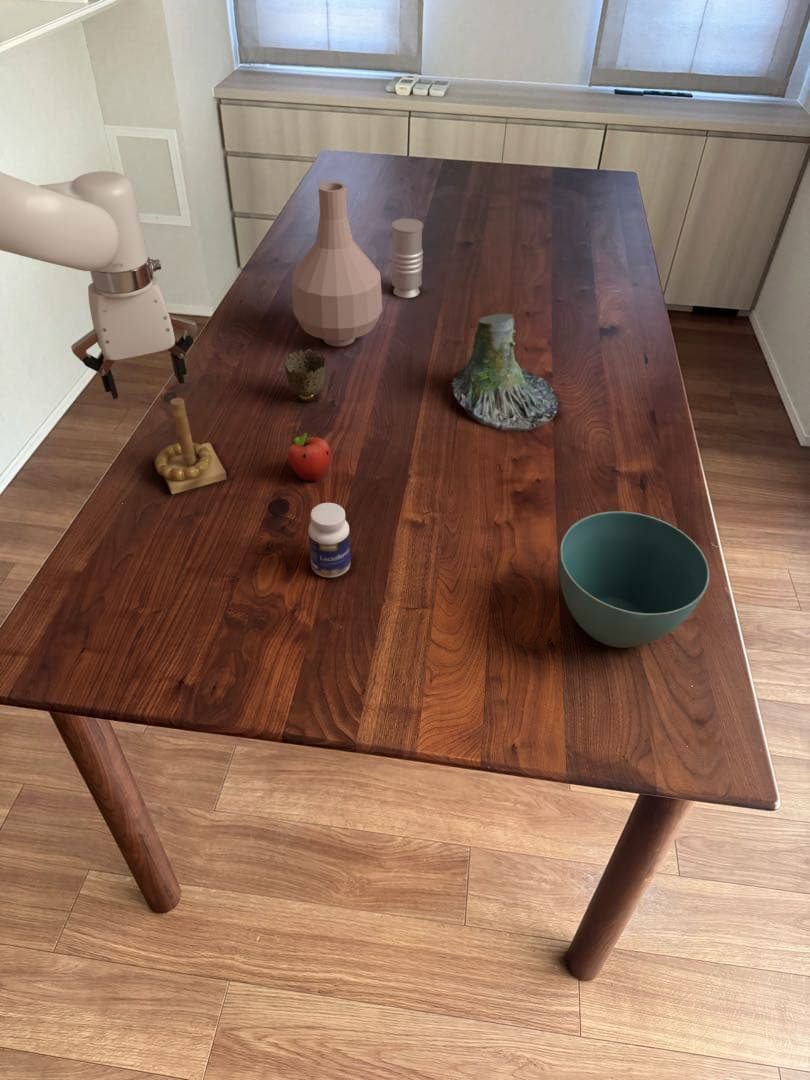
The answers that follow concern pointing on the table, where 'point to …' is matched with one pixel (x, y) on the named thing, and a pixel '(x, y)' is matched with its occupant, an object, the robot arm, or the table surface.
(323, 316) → the vase
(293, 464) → the apple
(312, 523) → the pill bottle
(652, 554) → the teal bowl
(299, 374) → the cup
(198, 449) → the ring
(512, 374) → the tree stump
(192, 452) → the post stand
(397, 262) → the ribbed beige cylinder
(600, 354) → the table surface
